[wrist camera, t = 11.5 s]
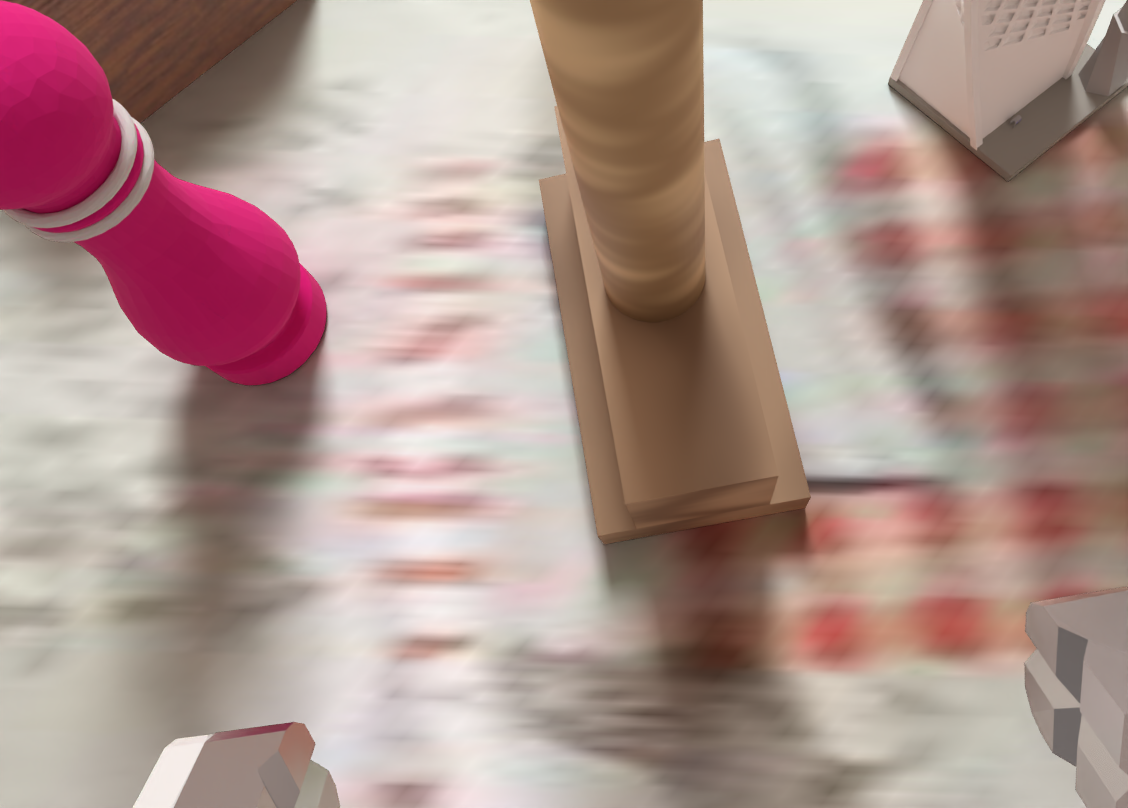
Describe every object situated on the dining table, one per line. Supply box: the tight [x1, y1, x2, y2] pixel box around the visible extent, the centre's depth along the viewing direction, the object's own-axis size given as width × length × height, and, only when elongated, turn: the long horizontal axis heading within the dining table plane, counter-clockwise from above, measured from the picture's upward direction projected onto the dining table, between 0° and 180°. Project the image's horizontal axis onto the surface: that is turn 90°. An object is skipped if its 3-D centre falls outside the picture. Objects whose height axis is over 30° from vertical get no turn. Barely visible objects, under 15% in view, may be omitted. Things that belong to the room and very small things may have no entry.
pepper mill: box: [0, 1, 327, 385], centre depth 31 cm, size 7×7×20 cm
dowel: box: [530, 0, 706, 322], centre depth 23 cm, size 4×4×16 cm
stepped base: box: [539, 106, 811, 544], centre depth 33 cm, size 8×16×6 cm, turn 9°
